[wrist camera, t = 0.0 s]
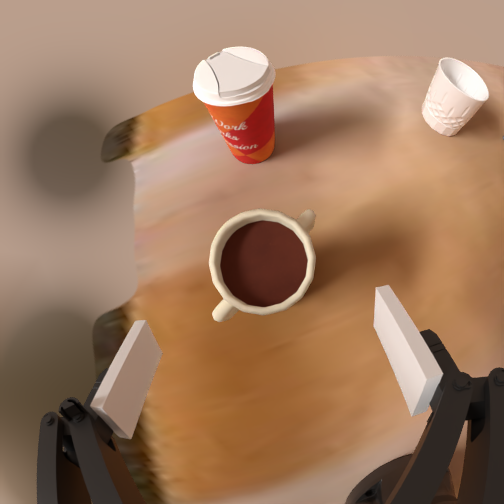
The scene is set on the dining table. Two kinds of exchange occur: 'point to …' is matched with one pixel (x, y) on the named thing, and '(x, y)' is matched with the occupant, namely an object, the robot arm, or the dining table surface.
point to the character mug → (262, 262)
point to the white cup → (453, 96)
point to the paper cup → (240, 100)
